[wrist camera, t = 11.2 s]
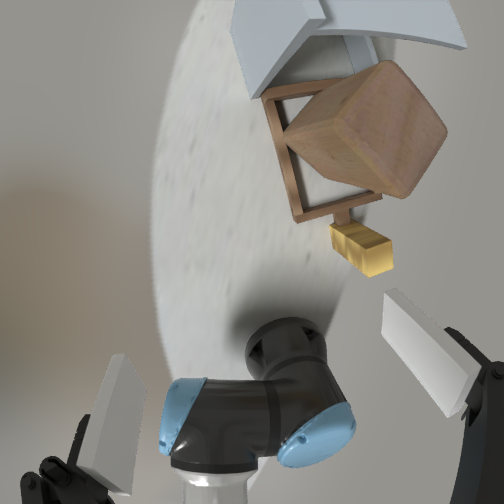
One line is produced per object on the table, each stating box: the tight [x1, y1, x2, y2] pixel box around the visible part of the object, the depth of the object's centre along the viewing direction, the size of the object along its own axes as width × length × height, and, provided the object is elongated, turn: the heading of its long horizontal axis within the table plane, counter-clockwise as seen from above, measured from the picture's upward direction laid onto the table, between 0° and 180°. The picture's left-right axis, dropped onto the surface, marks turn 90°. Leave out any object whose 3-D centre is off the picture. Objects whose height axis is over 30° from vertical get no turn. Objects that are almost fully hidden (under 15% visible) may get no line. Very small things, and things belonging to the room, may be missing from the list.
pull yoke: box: [260, 77, 393, 278], centre depth 35 cm, size 26×15×12 cm, turn 16°
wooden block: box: [282, 60, 447, 199], centre depth 29 cm, size 10×10×20 cm
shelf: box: [230, 0, 468, 100], centre depth 22 cm, size 12×19×26 cm, turn 105°
